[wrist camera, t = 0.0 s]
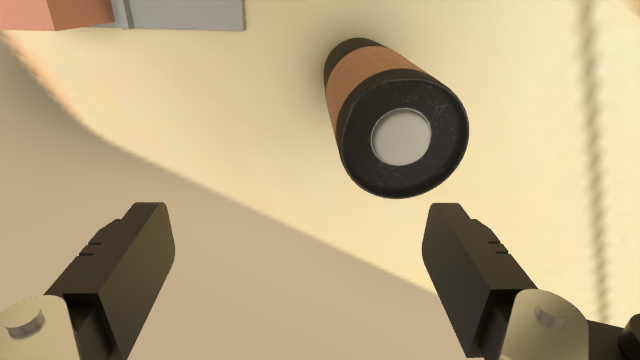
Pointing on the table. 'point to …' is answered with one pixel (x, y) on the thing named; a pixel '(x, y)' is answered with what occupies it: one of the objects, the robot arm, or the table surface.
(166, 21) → the shelf board
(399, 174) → the travel mug
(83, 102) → the table surface
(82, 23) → the brick carton
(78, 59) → the table surface
